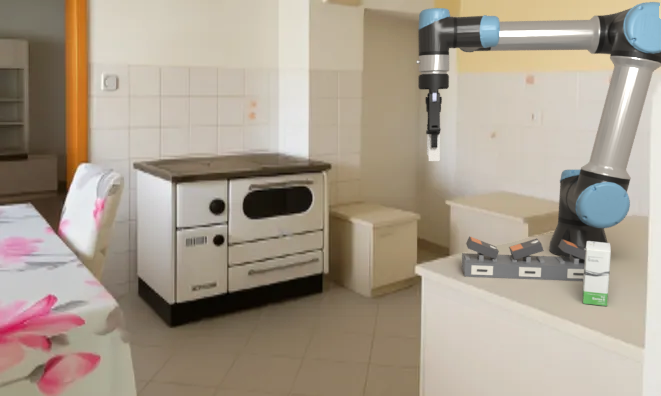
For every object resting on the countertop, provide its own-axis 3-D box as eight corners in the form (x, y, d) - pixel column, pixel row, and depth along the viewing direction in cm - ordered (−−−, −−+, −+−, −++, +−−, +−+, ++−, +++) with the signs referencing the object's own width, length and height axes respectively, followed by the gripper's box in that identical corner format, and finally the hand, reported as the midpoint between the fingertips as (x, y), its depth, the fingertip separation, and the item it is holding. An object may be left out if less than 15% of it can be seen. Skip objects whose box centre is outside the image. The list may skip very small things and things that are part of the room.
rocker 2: (539, 245, 153) (536, 237, 153) (543, 250, 149) (541, 242, 148) (511, 254, 155) (508, 246, 154) (514, 259, 150) (511, 251, 150)
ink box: (607, 307, 129) (612, 251, 127) (581, 304, 130) (585, 248, 129) (606, 294, 136) (610, 241, 135) (582, 292, 138) (585, 239, 136)
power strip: (585, 270, 155) (586, 252, 154) (596, 281, 146) (597, 262, 145) (461, 266, 159) (462, 248, 158) (464, 276, 150) (465, 257, 149)
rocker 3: (585, 257, 152) (589, 249, 152) (591, 262, 148) (595, 254, 147) (558, 246, 153) (561, 238, 152) (563, 251, 148) (566, 243, 148)
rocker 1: (492, 253, 155) (496, 246, 155) (495, 259, 150) (499, 251, 150) (466, 243, 156) (469, 235, 155) (467, 248, 151) (471, 240, 150)
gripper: (417, 75, 169) (417, 153, 173) (419, 71, 145) (418, 163, 148) (446, 74, 169) (445, 153, 172) (452, 71, 144) (451, 163, 147)
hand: (433, 158), depth 160 cm, fingers open, 13 cm apart
